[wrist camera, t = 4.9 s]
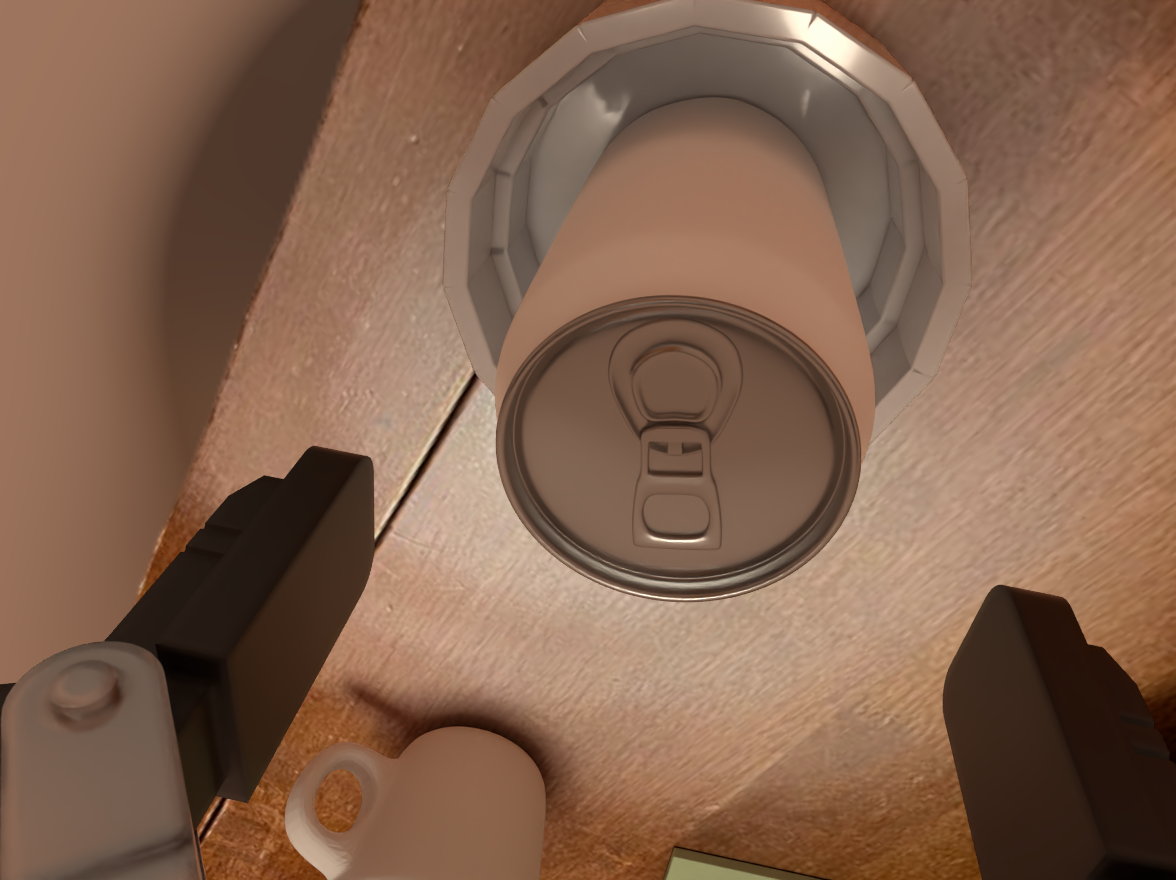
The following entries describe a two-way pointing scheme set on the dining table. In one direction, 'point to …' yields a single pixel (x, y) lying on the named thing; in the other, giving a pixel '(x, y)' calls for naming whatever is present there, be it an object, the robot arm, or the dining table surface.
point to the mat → (720, 869)
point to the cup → (428, 811)
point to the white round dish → (752, 75)
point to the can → (689, 364)
